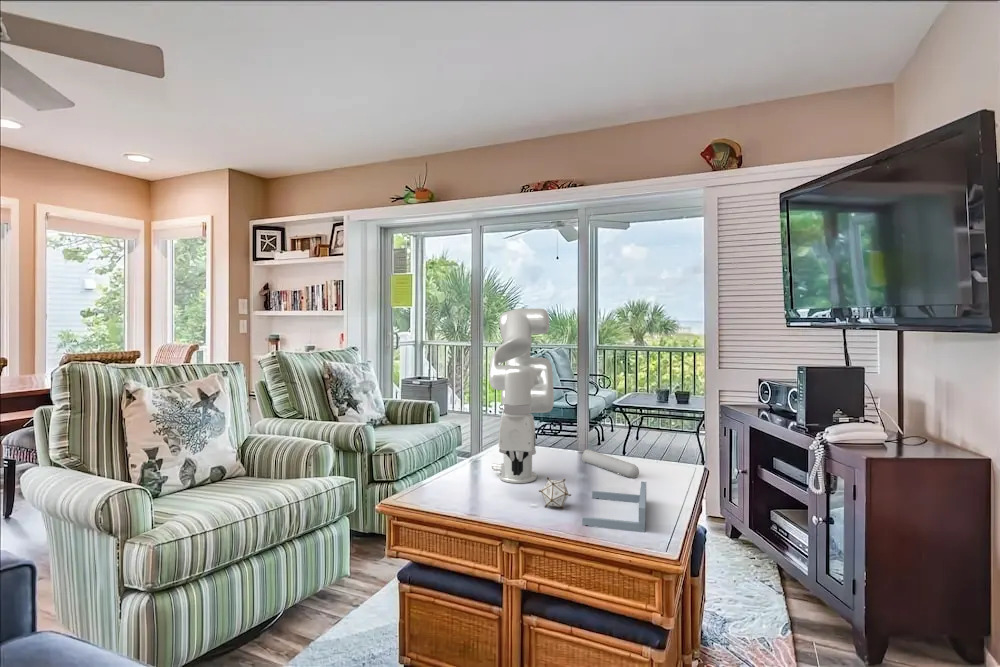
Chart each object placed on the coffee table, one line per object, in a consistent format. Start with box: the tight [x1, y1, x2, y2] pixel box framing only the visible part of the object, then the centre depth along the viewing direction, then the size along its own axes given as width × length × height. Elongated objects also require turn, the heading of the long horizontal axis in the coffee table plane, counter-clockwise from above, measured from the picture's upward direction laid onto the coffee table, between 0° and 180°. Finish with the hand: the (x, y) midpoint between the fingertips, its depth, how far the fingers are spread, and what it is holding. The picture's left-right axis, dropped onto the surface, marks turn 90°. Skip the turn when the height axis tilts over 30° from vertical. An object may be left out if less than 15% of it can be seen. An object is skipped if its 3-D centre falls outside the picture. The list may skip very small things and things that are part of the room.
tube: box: [581, 448, 640, 479], centre depth 188 cm, size 5×5×25 cm
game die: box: [538, 476, 572, 510], centre depth 150 cm, size 9×8×10 cm
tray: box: [581, 480, 647, 533], centre depth 145 cm, size 16×23×6 cm
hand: (517, 474), depth 152 cm, fingers closed
